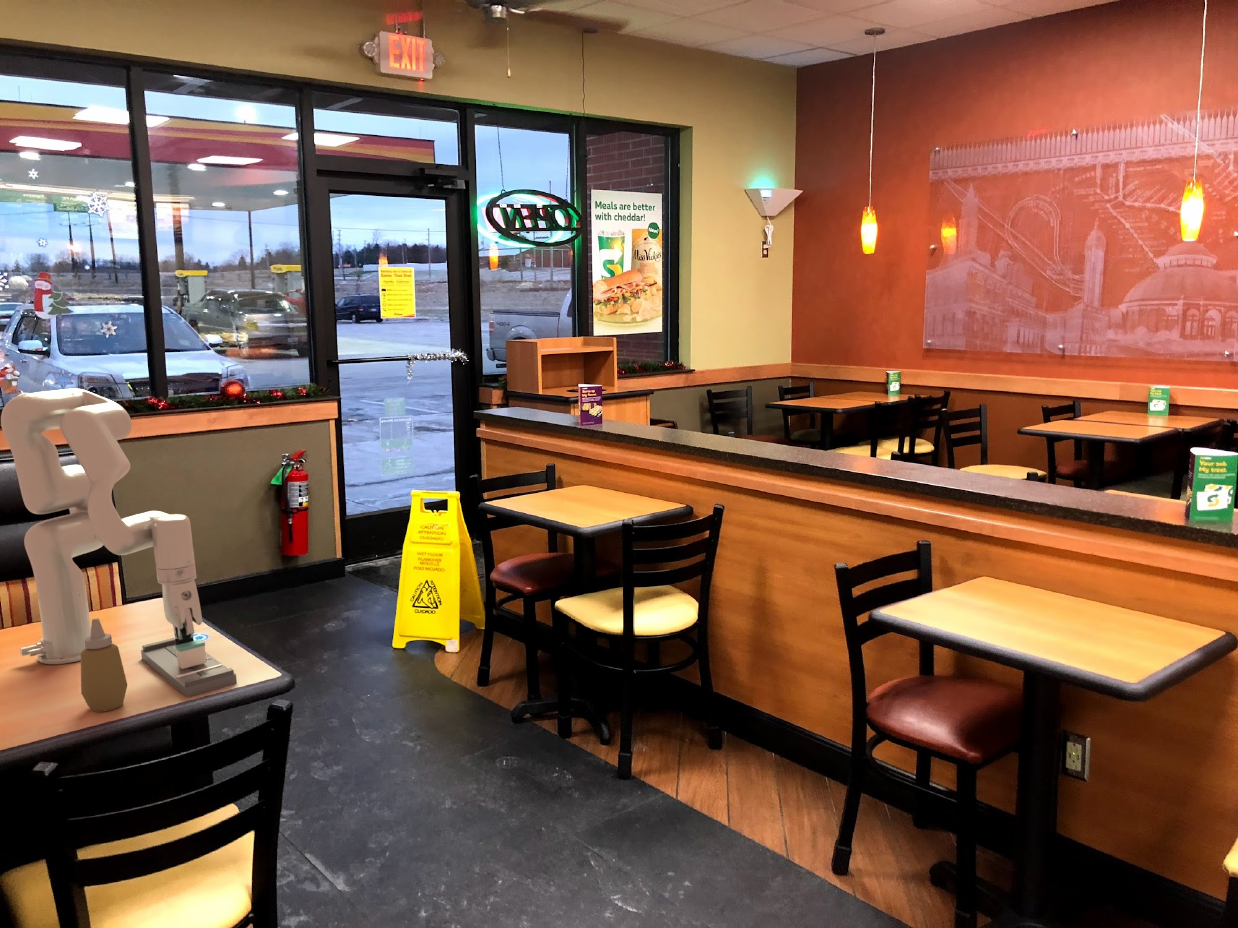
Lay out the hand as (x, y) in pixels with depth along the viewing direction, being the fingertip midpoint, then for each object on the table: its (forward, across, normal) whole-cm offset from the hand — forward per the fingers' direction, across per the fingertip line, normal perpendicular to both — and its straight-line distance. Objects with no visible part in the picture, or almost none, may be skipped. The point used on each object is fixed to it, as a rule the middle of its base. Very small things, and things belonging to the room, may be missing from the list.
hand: (186, 655), depth 210 cm
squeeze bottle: (+4, -8, +18) cm, 20 cm away
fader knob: (+1, -4, 0) cm, 4 cm away
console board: (+3, 0, 0) cm, 3 cm away
